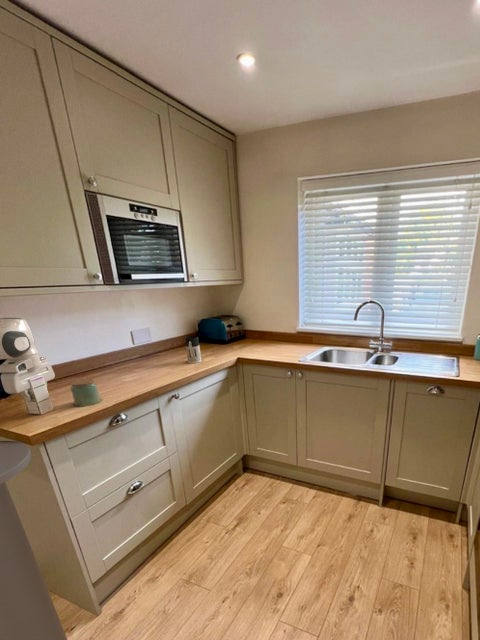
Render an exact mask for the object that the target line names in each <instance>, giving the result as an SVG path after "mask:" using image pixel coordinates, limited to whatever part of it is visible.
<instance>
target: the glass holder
mask: <svg viewBox="0 0 480 640" xmlns="http://www.w3.org/2000/svg"><path fill="white" fill-rule="evenodd" d="M184 340H185V350H186V356H187V363H188V364H198V363H199V364H200V363H202V362H203V360H202V355H201V347H200V341H199V336H194V335H192V336H185V337H184Z"/></svg>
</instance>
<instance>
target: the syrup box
mask: <svg viewBox="0 0 480 640" xmlns="http://www.w3.org/2000/svg"><path fill="white" fill-rule="evenodd" d="M29 383H30V386H31V388H30V389H27V390H28V392H27V393H28V394H29V395H32V398H33V400H31V401H25V399H24V397H23V396H22V398H23V401H24V404H25V405H26V406H25V407H26V410H27V412H28V414H29V415H44V414H46V413H49V412H51V411H53V410H54V406H53V403H52V400H51V397H50V394H49V391H48V386H47V387H46V384H45V381H44V378H43V375H37V376H34V377H32V378H30V379H29Z"/></svg>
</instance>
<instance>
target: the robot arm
mask: <svg viewBox="0 0 480 640" xmlns="http://www.w3.org/2000/svg"><path fill="white" fill-rule="evenodd" d="M0 360H1V361H2V360H4V362H3V363H1V364H0V374H1V375H0V380H1V384H2V388H3V390H4V392H5V393H7V395H8V394H9V395H17V394H19V395H20V396H21V397H22V398H23V397H24V398H23V400H24V399H25V401H31V400H33V398H32V395H29V394H28V393H27V392H28V390H27V389H30V388H31V386H30V383H29V379H30V378H32V377H34V376H37V375H43V378H44V381H45V384H46V387H47V388H48V382H49V381H51V380H54V379H55V376H56V375H55V371H54V369H53V367H52V365H51V363H50V362H49V359H48V358H46V357H44V356H41V357H40V355H39V352H38V349H37V348H36V345H35V338H34V335H33V332H32V330H31V328H30V325H29V323H28V322H27V320H26V319H25V318H21V317H1V318H0ZM25 401H24V402H25Z"/></svg>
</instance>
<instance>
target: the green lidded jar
mask: <svg viewBox="0 0 480 640" xmlns="http://www.w3.org/2000/svg"><path fill="white" fill-rule="evenodd" d="M69 388H70V392H71V395H72V399H73V403H74V405H75V406H76V407H86V406H92V405H95V404H98V403H100V402H101V397H100V393H99V389H98V385H97V383H96V382H95V380H94V379H93V378H85V379H78V380H75V381H72V382H71V383H70V387H69Z"/></svg>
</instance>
